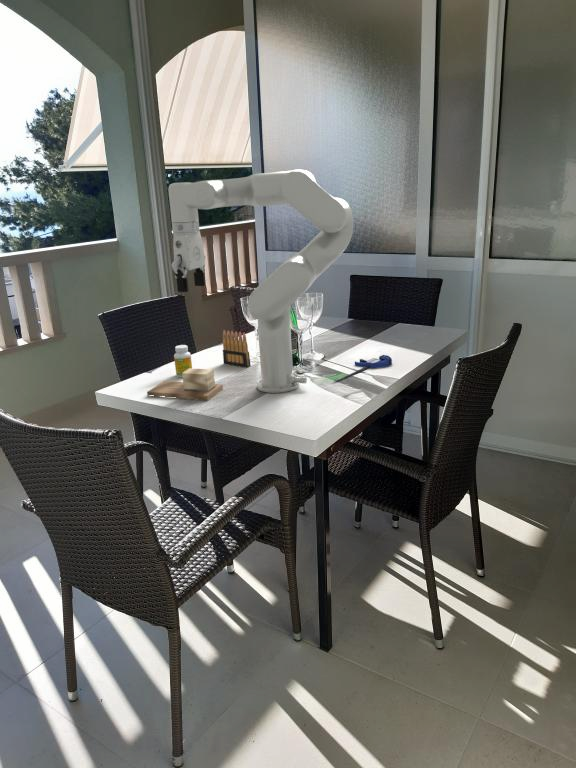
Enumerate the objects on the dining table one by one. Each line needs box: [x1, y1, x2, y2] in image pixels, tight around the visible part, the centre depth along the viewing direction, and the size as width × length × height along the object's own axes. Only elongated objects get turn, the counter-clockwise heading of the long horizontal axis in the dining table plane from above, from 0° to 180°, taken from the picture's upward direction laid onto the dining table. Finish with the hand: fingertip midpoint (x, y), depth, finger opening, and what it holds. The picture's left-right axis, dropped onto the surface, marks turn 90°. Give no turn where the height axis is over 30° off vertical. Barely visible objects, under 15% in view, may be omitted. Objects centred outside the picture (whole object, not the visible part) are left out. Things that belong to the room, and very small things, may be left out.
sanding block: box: [181, 367, 216, 392], centre depth 179 cm, size 8×4×6 cm, turn 71°
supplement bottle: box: [173, 344, 193, 378], centre depth 197 cm, size 5×5×10 cm
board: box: [146, 380, 224, 401], centre depth 182 cm, size 20×10×2 cm, turn 71°
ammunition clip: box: [222, 329, 252, 369], centre depth 204 cm, size 11×2×12 cm, turn 54°
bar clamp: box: [330, 354, 393, 384], centre depth 190 cm, size 32×2×10 cm
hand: (191, 288), depth 177 cm, fingers open, 9 cm apart
